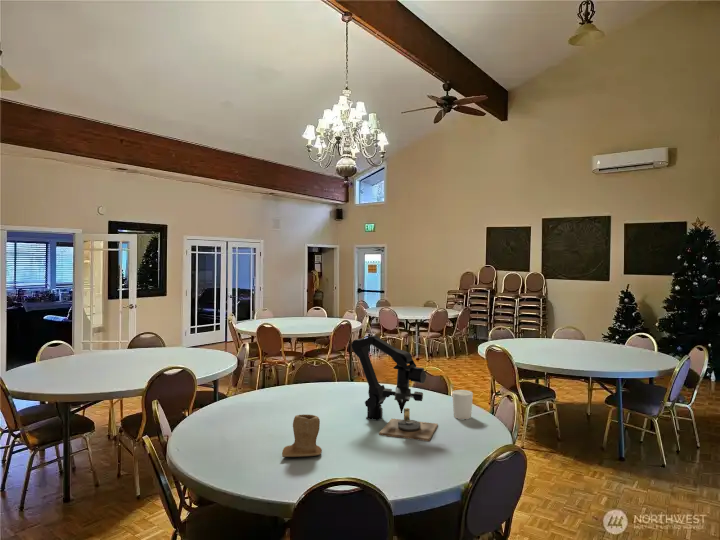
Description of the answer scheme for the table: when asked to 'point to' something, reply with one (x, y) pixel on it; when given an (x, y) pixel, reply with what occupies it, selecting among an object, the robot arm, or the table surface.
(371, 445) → the table surface
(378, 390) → the robot arm
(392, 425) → the base plate
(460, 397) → the candle holder
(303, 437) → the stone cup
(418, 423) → the dial
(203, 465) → the table surface
